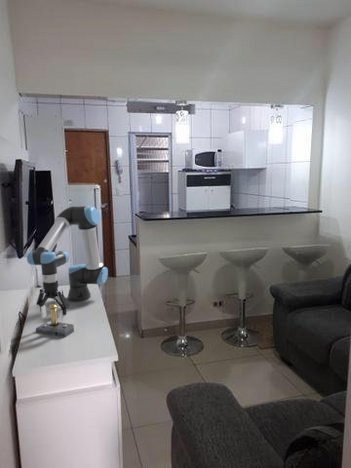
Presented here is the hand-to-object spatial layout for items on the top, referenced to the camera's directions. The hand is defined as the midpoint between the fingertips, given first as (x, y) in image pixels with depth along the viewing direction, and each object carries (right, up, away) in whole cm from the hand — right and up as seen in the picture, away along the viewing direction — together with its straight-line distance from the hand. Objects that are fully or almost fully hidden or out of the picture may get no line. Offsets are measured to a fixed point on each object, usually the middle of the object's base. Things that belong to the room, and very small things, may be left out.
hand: (53, 319), depth 192 cm
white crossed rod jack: (-5, -4, +22) cm, 23 cm away
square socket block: (0, -7, +1) cm, 7 cm away
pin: (0, -7, +1) cm, 7 cm away
